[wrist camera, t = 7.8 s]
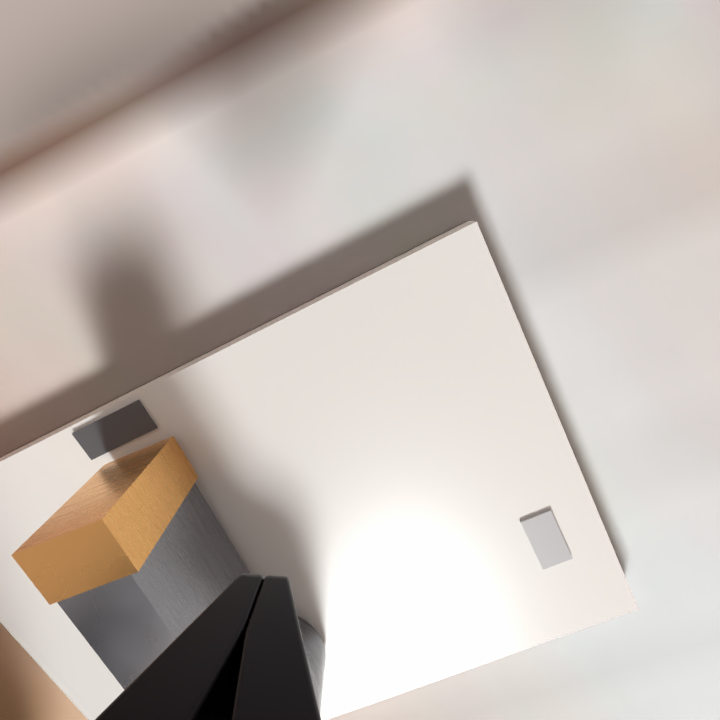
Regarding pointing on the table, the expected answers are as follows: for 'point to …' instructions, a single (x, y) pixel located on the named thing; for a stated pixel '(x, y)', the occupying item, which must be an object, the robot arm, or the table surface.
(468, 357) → the base
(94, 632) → the lock lever
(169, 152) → the table surface
